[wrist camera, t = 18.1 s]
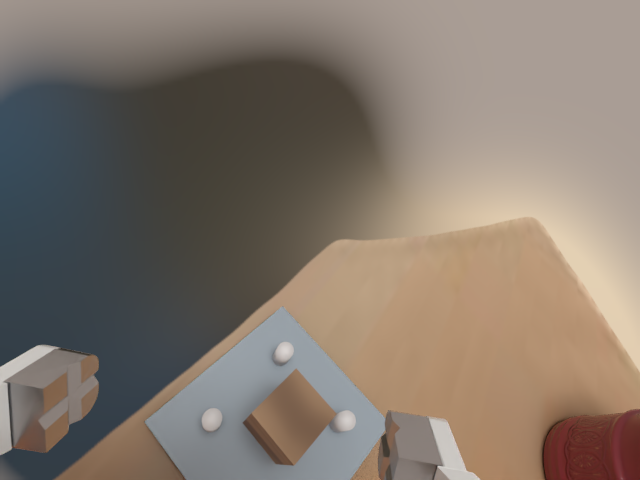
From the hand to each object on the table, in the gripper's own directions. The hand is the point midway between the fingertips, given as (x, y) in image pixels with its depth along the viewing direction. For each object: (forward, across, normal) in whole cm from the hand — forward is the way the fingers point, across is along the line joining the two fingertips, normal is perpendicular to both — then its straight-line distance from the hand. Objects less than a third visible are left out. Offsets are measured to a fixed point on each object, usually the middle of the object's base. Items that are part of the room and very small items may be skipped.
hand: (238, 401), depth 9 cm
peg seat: (+20, +1, +18) cm, 27 cm away
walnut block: (+19, +1, +17) cm, 25 cm away
